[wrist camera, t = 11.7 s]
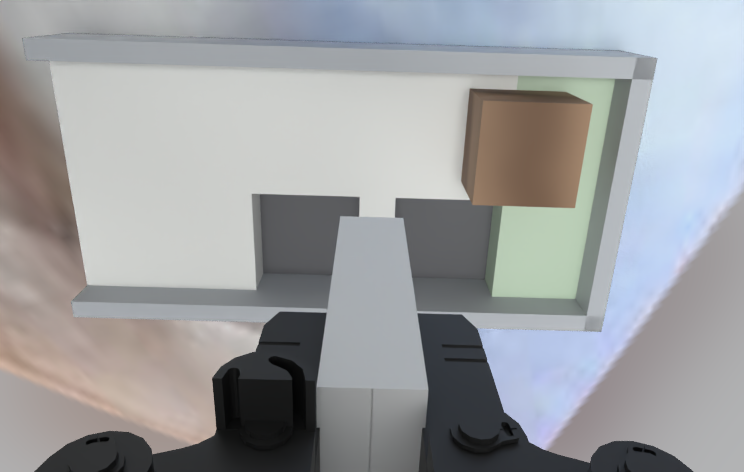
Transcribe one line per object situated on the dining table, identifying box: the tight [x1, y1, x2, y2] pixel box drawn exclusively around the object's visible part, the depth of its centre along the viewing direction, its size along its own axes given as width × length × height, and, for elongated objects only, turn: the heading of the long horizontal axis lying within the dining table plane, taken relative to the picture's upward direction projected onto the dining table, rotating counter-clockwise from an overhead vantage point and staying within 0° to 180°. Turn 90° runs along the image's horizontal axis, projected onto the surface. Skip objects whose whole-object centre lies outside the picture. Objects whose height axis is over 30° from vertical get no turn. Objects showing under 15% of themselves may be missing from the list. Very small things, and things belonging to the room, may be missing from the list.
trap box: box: [22, 33, 657, 332], centre depth 32 cm, size 30×15×4 cm, turn 88°
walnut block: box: [461, 88, 593, 208], centre depth 29 cm, size 5×5×4 cm
